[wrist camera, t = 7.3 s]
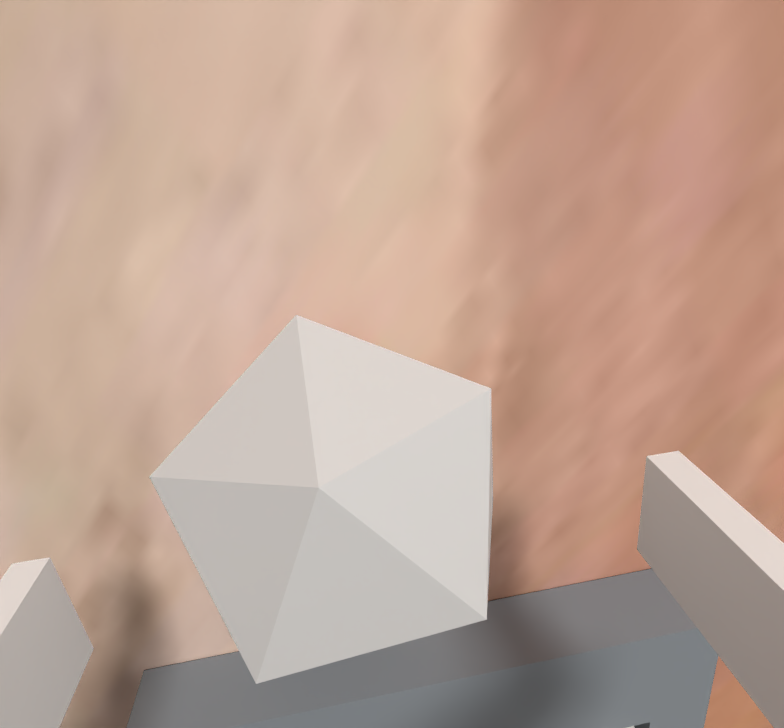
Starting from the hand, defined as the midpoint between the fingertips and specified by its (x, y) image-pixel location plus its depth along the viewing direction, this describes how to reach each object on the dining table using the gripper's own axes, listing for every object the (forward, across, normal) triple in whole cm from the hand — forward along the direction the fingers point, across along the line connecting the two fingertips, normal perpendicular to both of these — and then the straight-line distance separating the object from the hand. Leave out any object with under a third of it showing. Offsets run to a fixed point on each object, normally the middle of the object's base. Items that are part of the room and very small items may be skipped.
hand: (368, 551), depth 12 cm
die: (+7, 0, 0) cm, 7 cm away
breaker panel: (+6, +2, -18) cm, 19 cm away
